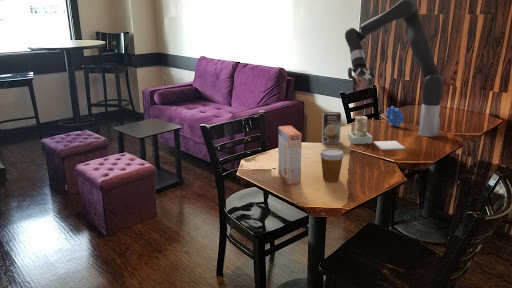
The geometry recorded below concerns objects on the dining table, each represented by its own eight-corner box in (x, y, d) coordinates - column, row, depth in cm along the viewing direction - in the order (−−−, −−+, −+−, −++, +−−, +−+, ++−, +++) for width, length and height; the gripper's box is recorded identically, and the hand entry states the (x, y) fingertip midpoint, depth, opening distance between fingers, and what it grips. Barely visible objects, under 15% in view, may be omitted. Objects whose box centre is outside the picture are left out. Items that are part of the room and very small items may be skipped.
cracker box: (301, 183, 157) (302, 133, 150) (287, 185, 156) (287, 134, 149) (291, 171, 170) (291, 124, 164) (278, 172, 169) (277, 125, 162)
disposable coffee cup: (316, 175, 164) (317, 148, 161) (339, 174, 165) (340, 147, 162) (322, 184, 155) (323, 156, 152) (345, 183, 156) (347, 155, 152)
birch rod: (363, 139, 212) (364, 116, 208) (365, 142, 207) (367, 118, 204) (353, 139, 212) (355, 116, 208) (356, 142, 207) (357, 118, 203)
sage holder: (366, 137, 215) (366, 131, 214) (372, 143, 205) (372, 136, 204) (348, 138, 214) (348, 132, 213) (353, 143, 205) (353, 137, 204)
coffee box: (322, 144, 206) (323, 114, 201) (321, 140, 212) (322, 111, 207) (340, 144, 205) (341, 114, 200) (338, 140, 211) (339, 111, 206)
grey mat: (395, 141, 206) (395, 140, 206) (405, 149, 195) (405, 147, 195) (373, 142, 206) (373, 141, 206) (381, 149, 195) (381, 148, 194)
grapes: (381, 125, 238) (382, 106, 234) (386, 123, 242) (387, 104, 239) (399, 128, 230) (401, 108, 227) (404, 126, 235) (406, 106, 231)
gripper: (348, 55, 214) (353, 81, 208) (372, 56, 217) (378, 82, 211) (343, 63, 221) (348, 88, 215) (367, 64, 224) (372, 89, 218)
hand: (363, 85), depth 213 cm, fingers open, 8 cm apart
